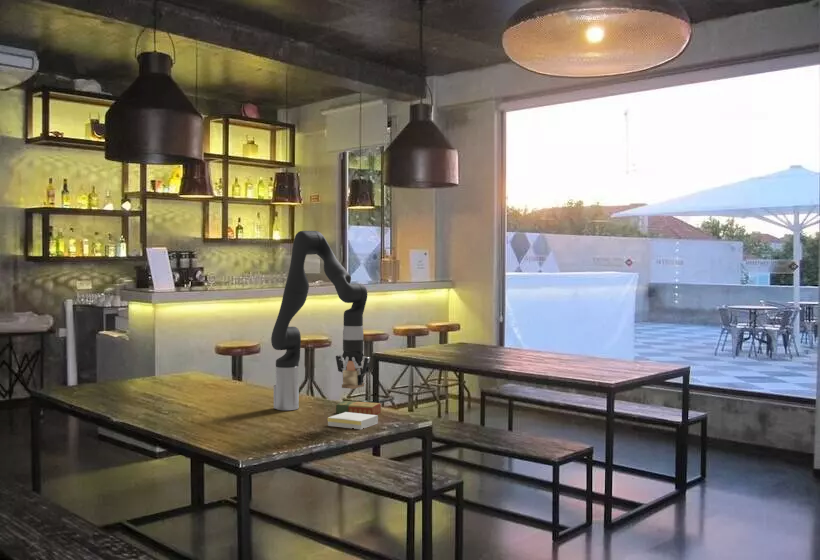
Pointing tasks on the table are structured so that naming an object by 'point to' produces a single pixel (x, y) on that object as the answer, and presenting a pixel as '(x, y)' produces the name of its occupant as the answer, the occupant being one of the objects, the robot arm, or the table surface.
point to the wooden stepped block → (350, 379)
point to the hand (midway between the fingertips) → (353, 384)
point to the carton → (358, 407)
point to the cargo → (351, 366)
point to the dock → (353, 420)
